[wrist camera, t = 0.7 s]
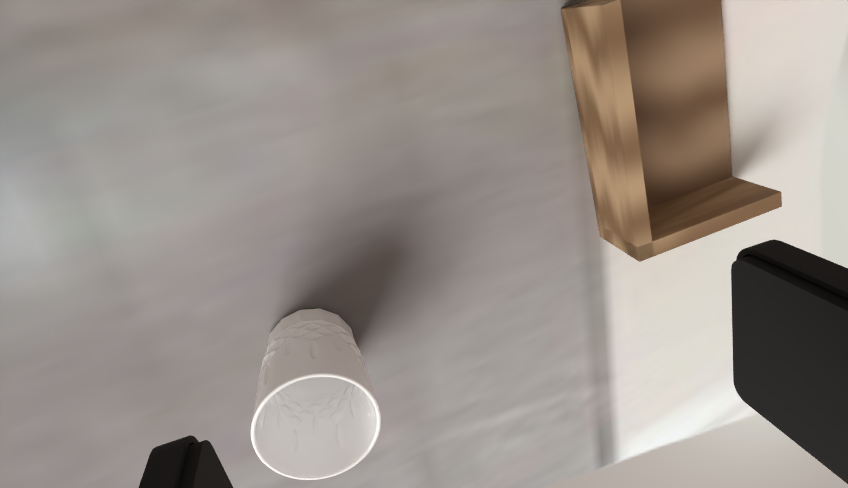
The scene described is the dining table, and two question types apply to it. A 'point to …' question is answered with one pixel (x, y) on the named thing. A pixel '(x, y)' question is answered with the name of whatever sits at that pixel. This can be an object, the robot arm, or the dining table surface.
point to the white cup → (313, 399)
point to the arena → (657, 122)
